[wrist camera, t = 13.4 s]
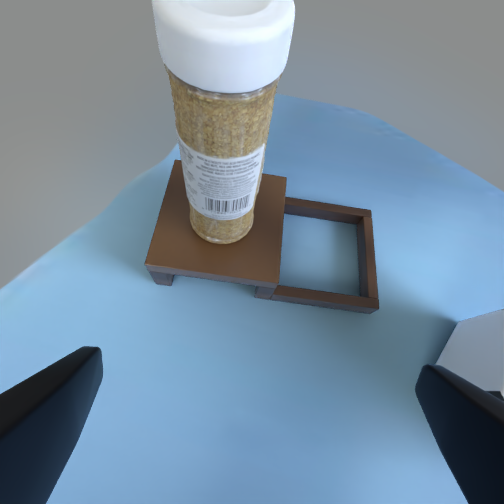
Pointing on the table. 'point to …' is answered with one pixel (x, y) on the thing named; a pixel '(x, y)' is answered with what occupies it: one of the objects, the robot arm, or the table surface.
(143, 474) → the table surface
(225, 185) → the sprinkles bottle
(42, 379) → the robot arm
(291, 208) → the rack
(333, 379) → the table surface
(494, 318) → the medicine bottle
